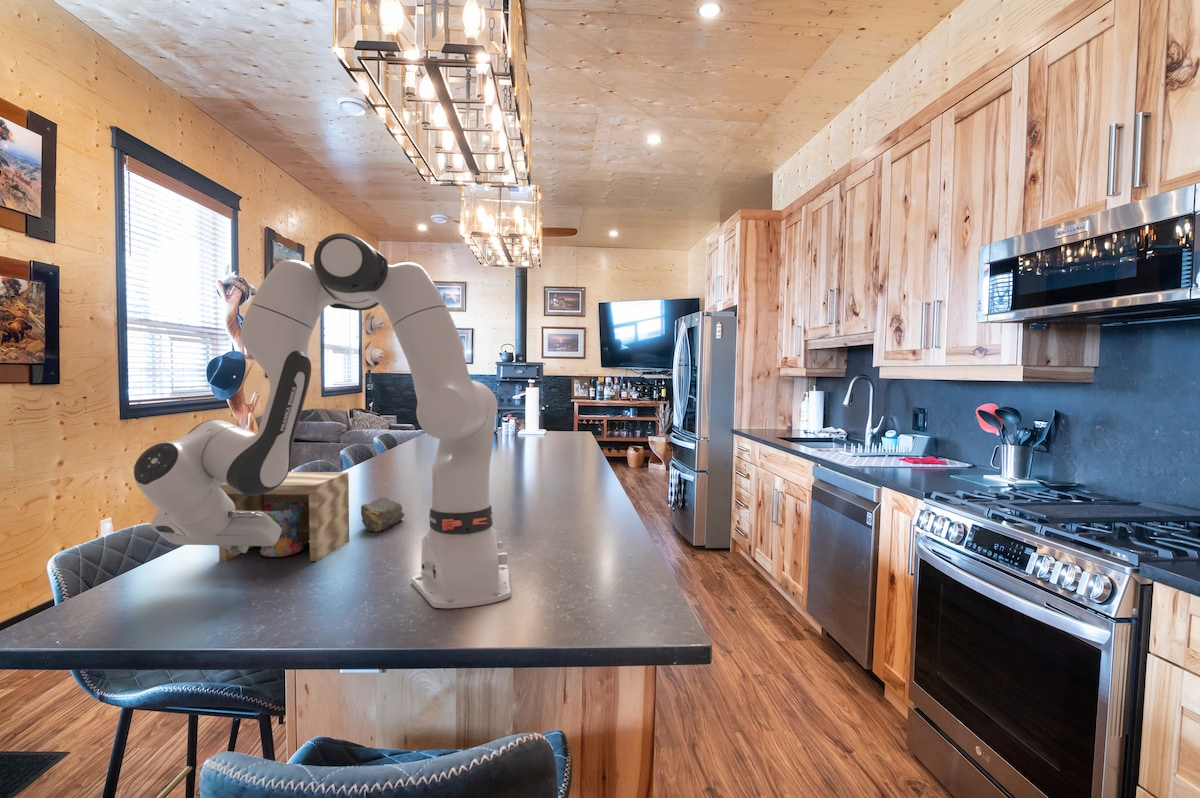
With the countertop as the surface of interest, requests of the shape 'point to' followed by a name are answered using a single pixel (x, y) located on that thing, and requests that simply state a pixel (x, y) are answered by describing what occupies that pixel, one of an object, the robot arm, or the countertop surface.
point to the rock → (381, 514)
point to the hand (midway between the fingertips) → (240, 549)
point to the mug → (284, 528)
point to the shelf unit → (306, 508)
